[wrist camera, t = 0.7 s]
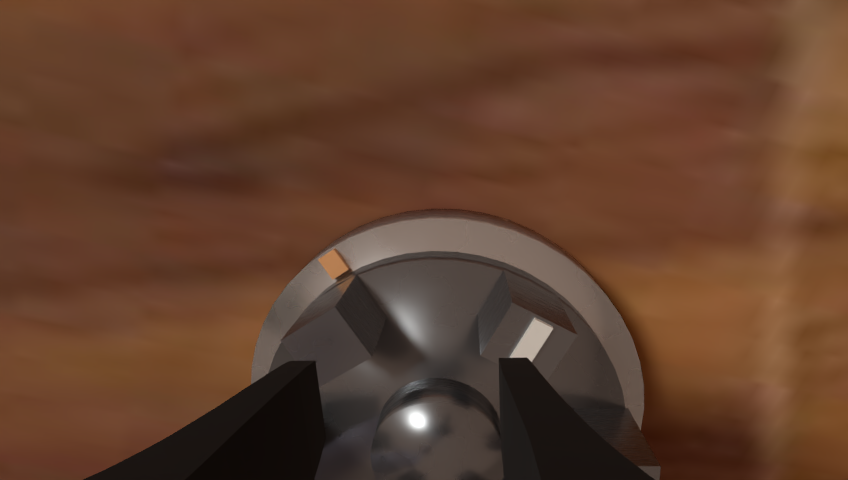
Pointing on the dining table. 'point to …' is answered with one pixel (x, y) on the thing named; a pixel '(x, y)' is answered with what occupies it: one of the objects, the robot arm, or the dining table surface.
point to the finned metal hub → (445, 366)
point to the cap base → (464, 236)
